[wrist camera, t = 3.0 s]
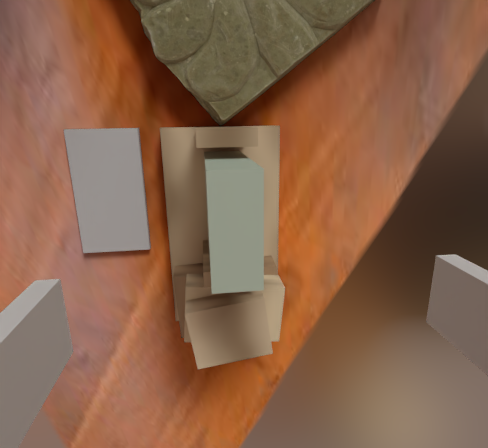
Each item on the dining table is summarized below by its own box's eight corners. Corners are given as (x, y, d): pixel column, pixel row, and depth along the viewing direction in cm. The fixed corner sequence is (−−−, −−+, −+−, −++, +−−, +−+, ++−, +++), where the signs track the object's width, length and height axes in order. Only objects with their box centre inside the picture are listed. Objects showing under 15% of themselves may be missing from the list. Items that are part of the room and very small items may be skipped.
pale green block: (207, 230, 31) (211, 293, 19) (204, 151, 29) (205, 170, 17) (240, 229, 31) (263, 290, 20) (239, 150, 29) (263, 168, 18)
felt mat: (85, 250, 32) (83, 253, 32) (66, 129, 29) (63, 129, 28) (150, 247, 33) (149, 249, 32) (138, 128, 30) (137, 128, 29)
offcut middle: (185, 325, 30) (184, 342, 28) (186, 273, 29) (185, 287, 27) (273, 324, 32) (278, 341, 29) (278, 275, 30) (285, 288, 28)
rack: (177, 310, 35) (169, 371, 26) (162, 127, 30) (146, 129, 21) (273, 303, 36) (295, 359, 27) (274, 125, 31) (303, 126, 22)
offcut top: (198, 352, 29) (197, 369, 27) (185, 300, 27) (184, 314, 25) (268, 338, 29) (272, 353, 27) (259, 285, 27) (264, 298, 26)
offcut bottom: (182, 322, 33) (181, 338, 31) (175, 265, 31) (172, 277, 29) (273, 311, 34) (279, 325, 32) (271, 255, 32) (276, 265, 30)
